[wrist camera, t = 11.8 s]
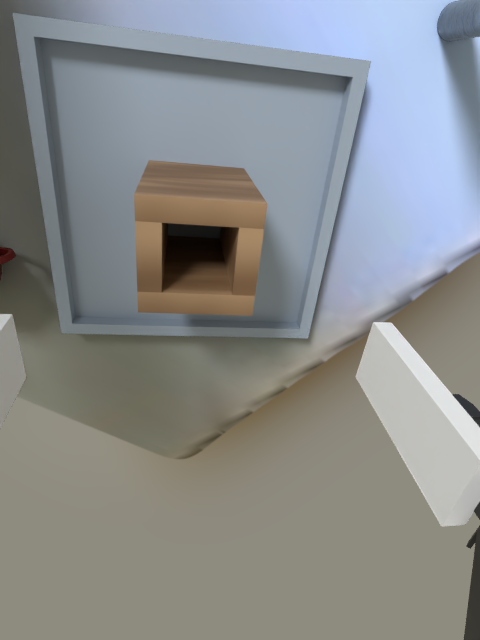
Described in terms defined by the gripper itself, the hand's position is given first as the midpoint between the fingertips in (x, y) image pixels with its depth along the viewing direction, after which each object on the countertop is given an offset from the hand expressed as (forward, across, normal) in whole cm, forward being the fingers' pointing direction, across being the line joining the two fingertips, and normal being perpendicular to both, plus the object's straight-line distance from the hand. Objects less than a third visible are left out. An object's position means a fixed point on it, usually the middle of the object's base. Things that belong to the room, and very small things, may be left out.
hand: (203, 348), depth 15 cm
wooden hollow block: (+19, 0, 0) cm, 19 cm away
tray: (+20, 0, 0) cm, 20 cm away
